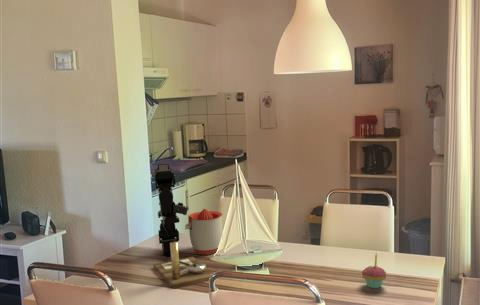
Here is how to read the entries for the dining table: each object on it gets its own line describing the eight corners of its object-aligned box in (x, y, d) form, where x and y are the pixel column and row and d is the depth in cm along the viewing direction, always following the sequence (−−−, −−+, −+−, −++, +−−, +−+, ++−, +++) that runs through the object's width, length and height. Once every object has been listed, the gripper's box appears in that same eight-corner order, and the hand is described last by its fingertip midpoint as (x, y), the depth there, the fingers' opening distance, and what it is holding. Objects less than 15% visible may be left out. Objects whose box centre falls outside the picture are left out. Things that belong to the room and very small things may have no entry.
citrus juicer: (183, 248, 228) (180, 207, 226) (219, 243, 233) (216, 203, 231) (190, 259, 213) (187, 215, 211) (228, 253, 218) (225, 210, 216)
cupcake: (368, 279, 181) (367, 248, 179) (390, 284, 175) (390, 252, 174) (358, 287, 174) (357, 255, 173) (380, 293, 169) (380, 259, 167)
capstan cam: (151, 270, 197) (148, 237, 195) (179, 260, 207) (177, 228, 206) (180, 281, 184) (178, 245, 182) (209, 269, 194) (207, 235, 193)
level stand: (154, 267, 205) (153, 264, 205) (192, 259, 212) (192, 256, 212) (173, 288, 182) (173, 284, 181) (216, 278, 189) (216, 274, 189)
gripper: (189, 200, 197) (193, 237, 198) (180, 194, 214) (184, 229, 215) (162, 204, 193) (166, 242, 194) (155, 198, 211) (159, 233, 212)
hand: (170, 236), depth 204 cm, fingers closed
